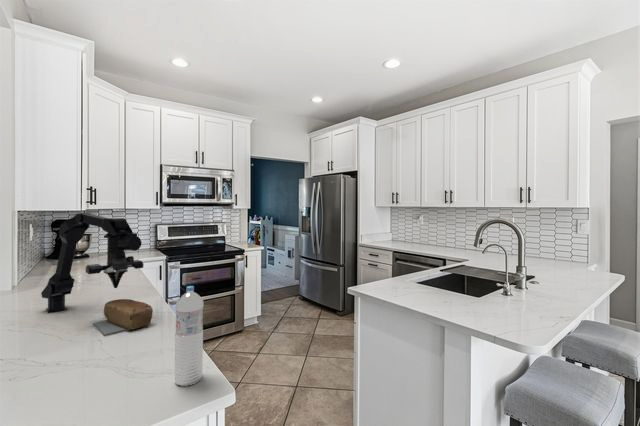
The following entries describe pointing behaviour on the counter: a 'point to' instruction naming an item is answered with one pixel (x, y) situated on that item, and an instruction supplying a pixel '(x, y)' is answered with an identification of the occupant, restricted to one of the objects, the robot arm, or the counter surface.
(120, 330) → the mat
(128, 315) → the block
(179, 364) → the water bottle
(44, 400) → the counter surface
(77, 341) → the counter surface
